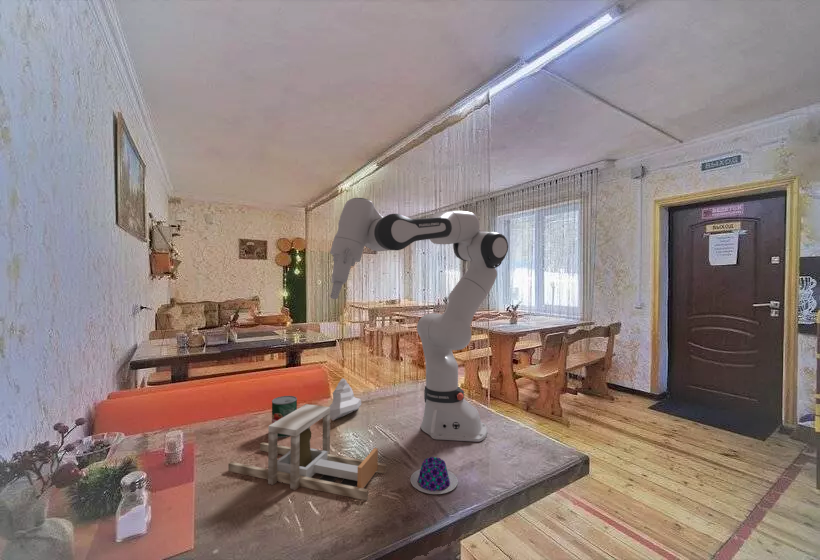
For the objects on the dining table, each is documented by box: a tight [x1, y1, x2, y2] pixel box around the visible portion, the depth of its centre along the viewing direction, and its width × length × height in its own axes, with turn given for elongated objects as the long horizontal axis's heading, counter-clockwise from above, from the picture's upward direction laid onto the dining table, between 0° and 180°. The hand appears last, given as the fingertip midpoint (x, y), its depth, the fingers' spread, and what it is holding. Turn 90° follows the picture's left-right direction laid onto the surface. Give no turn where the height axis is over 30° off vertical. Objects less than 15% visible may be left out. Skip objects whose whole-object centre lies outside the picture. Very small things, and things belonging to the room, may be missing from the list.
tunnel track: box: [227, 403, 388, 501], centre depth 93 cm, size 40×16×14 cm, turn 73°
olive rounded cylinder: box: [290, 428, 312, 467], centre depth 93 cm, size 6×6×11 cm
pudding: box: [409, 456, 459, 495], centre depth 89 cm, size 12×12×5 cm
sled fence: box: [277, 447, 379, 489], centre depth 91 cm, size 25×10×6 cm, turn 73°
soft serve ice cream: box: [328, 377, 362, 421], centre depth 133 cm, size 12×15×14 cm
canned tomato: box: [271, 395, 298, 439], centre depth 116 cm, size 8×8×11 cm
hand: (333, 298), depth 98 cm, fingers open, 8 cm apart
